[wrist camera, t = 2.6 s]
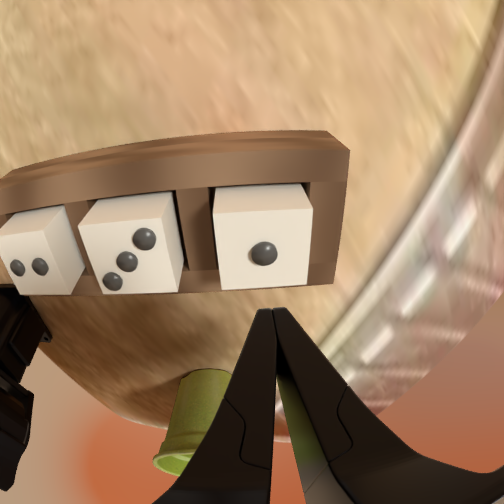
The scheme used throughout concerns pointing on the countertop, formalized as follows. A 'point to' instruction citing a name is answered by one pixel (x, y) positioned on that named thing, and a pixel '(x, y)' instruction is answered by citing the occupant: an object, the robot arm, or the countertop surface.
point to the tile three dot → (134, 243)
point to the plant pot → (191, 418)
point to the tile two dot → (41, 252)
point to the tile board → (193, 191)
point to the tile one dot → (262, 235)
